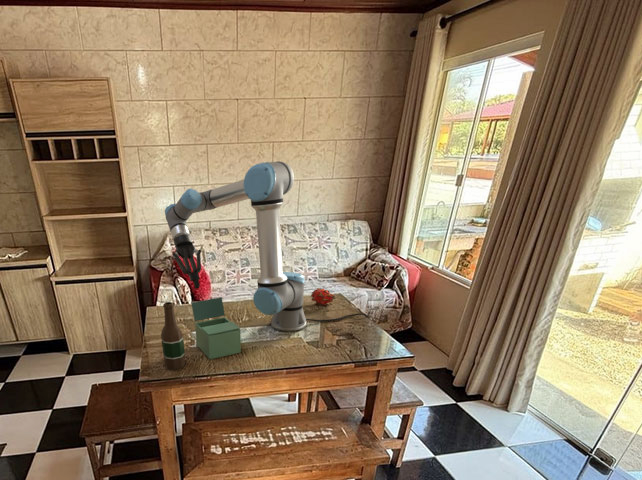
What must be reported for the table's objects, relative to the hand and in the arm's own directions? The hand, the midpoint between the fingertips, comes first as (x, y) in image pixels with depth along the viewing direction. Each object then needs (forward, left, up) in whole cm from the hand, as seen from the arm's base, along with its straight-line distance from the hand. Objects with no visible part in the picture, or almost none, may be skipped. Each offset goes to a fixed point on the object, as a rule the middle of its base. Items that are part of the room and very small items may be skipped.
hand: (197, 287), depth 168 cm
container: (-10, +17, -20) cm, 28 cm away
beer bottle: (+4, +32, -20) cm, 38 cm away
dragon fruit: (-55, -36, -20) cm, 69 cm away
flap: (-6, +10, -6) cm, 13 cm away
